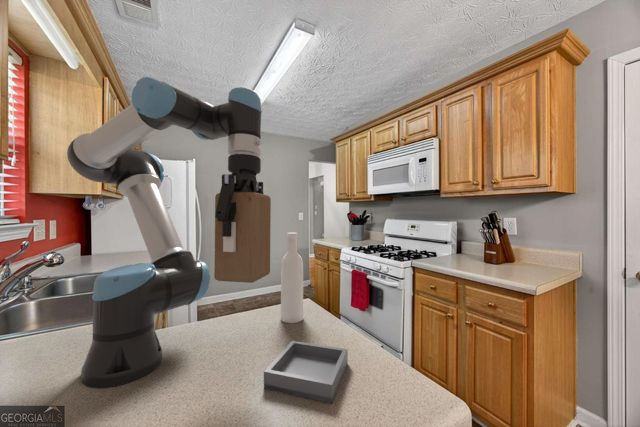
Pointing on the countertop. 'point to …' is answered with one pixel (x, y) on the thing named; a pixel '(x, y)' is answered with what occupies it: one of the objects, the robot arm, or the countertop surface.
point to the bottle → (292, 282)
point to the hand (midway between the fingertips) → (243, 248)
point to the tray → (307, 371)
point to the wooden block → (245, 240)
